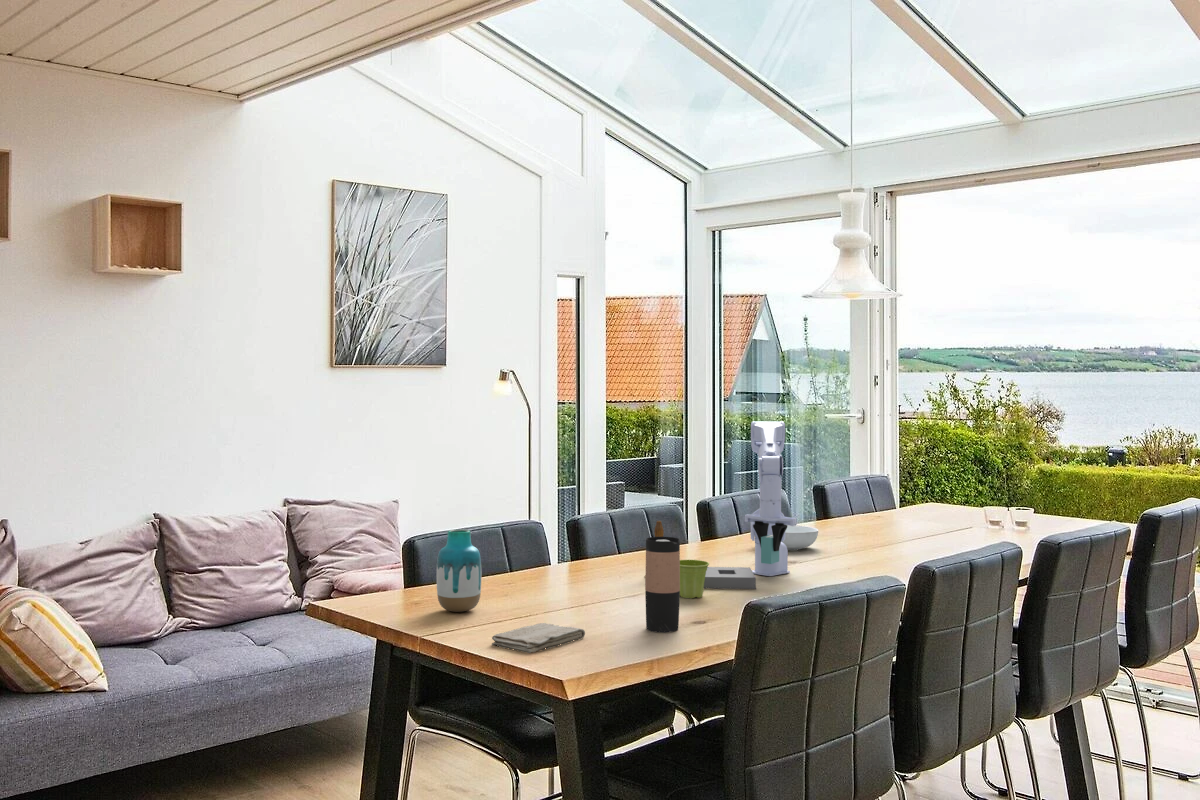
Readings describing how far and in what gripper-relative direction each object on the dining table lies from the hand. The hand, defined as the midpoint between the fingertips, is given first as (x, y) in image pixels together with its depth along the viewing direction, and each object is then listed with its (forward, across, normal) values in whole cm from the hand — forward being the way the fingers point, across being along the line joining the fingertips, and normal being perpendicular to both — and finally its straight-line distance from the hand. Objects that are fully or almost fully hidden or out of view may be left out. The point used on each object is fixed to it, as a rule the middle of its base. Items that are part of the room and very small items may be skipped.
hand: (770, 550), depth 295 cm
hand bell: (+10, -30, -8) cm, 33 cm away
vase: (+10, -46, -74) cm, 88 cm away
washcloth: (+10, -12, -87) cm, 89 cm away
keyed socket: (+9, -11, -4) cm, 15 cm away
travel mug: (+10, +4, -62) cm, 63 cm away
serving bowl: (+10, -24, +62) cm, 68 cm away
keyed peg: (+3, 0, 0) cm, 3 cm away
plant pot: (+10, -10, -26) cm, 29 cm away
